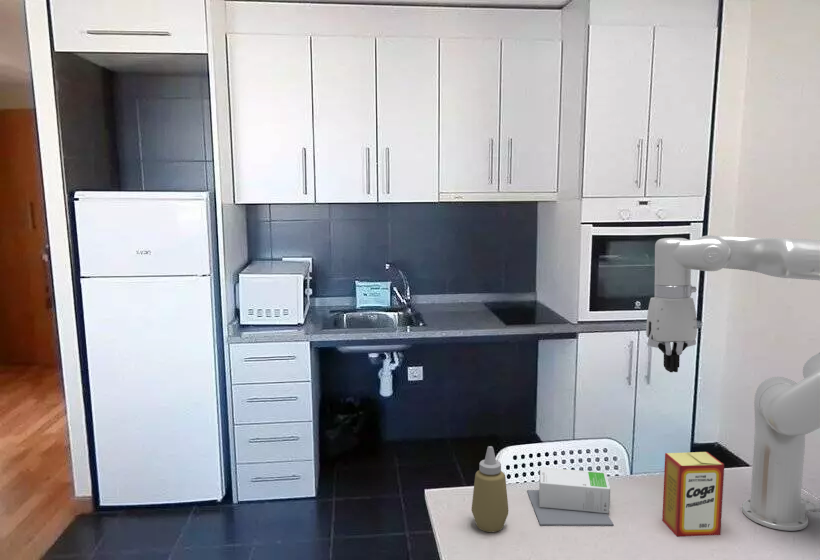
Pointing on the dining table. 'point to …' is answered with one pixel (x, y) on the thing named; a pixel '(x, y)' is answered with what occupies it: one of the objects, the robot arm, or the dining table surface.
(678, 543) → the dining table surface
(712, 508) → the baking soda box
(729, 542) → the dining table surface
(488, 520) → the squeeze bottle
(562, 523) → the mat
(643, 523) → the dining table surface
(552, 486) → the skincare box
